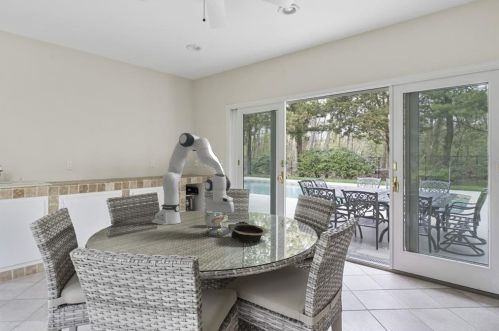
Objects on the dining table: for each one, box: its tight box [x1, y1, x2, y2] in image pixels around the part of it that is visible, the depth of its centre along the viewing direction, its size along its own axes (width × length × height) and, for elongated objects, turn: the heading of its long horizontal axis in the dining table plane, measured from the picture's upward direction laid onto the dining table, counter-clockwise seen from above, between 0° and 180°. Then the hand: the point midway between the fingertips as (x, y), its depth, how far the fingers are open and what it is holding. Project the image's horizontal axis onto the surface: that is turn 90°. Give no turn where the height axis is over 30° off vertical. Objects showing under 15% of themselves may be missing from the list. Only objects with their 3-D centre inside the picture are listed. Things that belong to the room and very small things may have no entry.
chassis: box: [201, 223, 233, 239], centre depth 194 cm, size 14×21×4 cm, turn 156°
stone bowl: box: [227, 221, 269, 244], centre depth 178 cm, size 25×25×9 cm
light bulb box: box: [205, 211, 223, 228], centre depth 213 cm, size 11×7×11 cm, turn 84°
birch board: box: [211, 214, 229, 224], centre depth 194 cm, size 5×13×3 cm, turn 156°
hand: (219, 218), depth 194 cm, fingers closed on birch board, 5 cm apart
